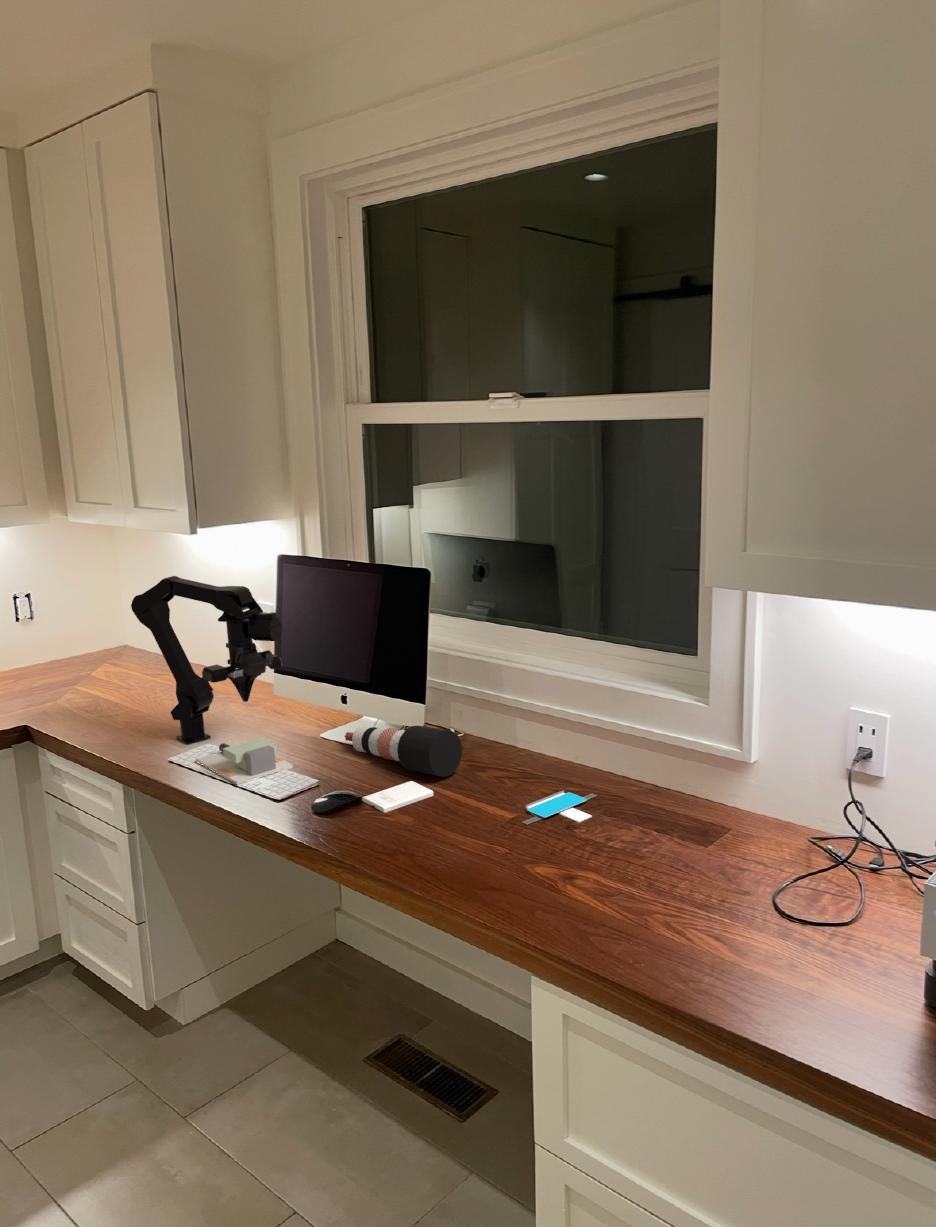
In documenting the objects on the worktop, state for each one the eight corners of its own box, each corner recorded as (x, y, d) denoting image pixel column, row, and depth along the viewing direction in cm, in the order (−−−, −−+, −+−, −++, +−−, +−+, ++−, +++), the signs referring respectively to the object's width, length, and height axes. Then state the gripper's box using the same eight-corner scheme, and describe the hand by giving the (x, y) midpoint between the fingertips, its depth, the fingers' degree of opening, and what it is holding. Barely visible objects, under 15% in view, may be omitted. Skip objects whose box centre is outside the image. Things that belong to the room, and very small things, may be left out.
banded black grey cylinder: (358, 760, 227) (368, 720, 229) (456, 780, 204) (466, 735, 206) (326, 752, 220) (337, 711, 222) (424, 772, 197) (435, 725, 199)
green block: (224, 767, 211) (222, 748, 210) (263, 755, 217) (262, 737, 216) (237, 774, 206) (235, 754, 205) (276, 761, 213) (275, 743, 212)
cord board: (196, 762, 217) (193, 738, 216) (249, 746, 226) (247, 724, 225) (237, 785, 203) (234, 760, 202) (292, 767, 212) (290, 743, 211)
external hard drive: (433, 798, 194) (384, 815, 186) (411, 787, 200) (362, 803, 193) (433, 790, 194) (384, 807, 186) (410, 780, 200) (361, 796, 192)
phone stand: (548, 838, 174) (548, 829, 174) (506, 818, 183) (506, 810, 183) (619, 807, 186) (619, 799, 186) (576, 790, 195) (576, 782, 195)
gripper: (220, 652, 211) (226, 717, 214) (291, 637, 223) (296, 699, 226) (198, 644, 219) (204, 707, 222) (267, 630, 231) (272, 690, 235)
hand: (245, 701), depth 226 cm, fingers closed
